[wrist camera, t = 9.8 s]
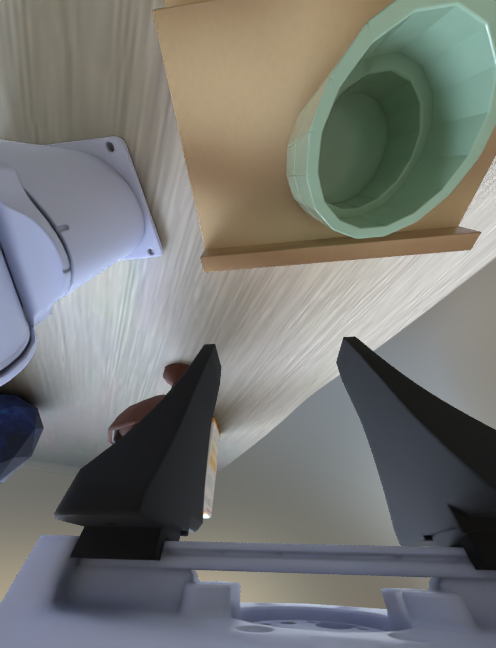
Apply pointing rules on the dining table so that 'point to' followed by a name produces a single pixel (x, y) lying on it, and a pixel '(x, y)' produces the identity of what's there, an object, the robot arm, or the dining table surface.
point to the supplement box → (211, 469)
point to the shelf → (274, 130)
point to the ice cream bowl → (143, 406)
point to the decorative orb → (17, 433)
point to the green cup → (397, 117)
